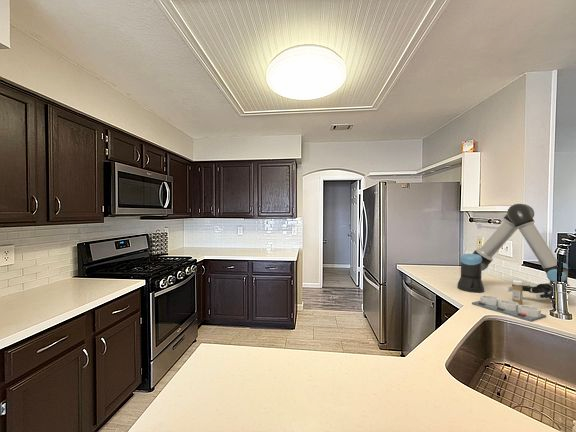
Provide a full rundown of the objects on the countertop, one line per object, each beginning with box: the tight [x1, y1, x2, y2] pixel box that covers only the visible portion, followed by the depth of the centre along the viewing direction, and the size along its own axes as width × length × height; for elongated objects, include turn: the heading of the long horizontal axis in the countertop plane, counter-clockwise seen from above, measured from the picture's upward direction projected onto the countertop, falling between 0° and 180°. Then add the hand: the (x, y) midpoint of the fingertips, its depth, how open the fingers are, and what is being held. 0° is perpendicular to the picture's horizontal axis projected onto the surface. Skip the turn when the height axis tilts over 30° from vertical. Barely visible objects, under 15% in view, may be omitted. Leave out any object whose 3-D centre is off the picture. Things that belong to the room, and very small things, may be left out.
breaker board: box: [471, 294, 547, 323], centre depth 145 cm, size 27×15×4 cm, turn 26°
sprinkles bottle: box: [511, 279, 524, 305], centre depth 155 cm, size 5×5×14 cm
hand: (521, 292), depth 154 cm, fingers open, 13 cm apart
